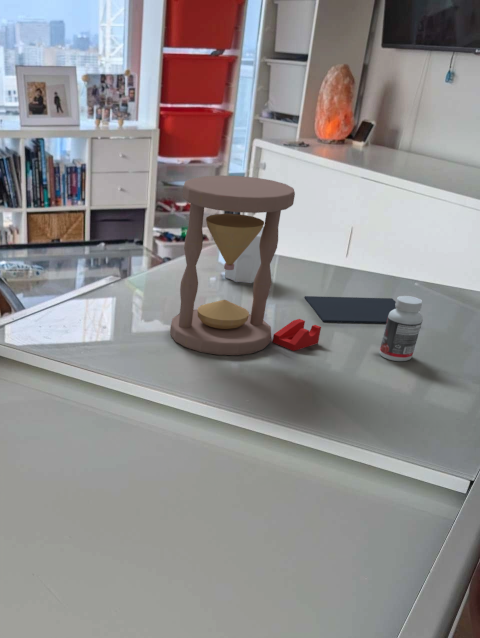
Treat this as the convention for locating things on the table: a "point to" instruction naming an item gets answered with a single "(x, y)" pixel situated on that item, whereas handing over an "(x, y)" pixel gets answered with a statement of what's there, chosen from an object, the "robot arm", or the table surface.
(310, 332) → the bracket
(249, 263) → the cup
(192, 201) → the hourglass
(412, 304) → the pill bottle
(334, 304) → the mat
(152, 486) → the table surface
